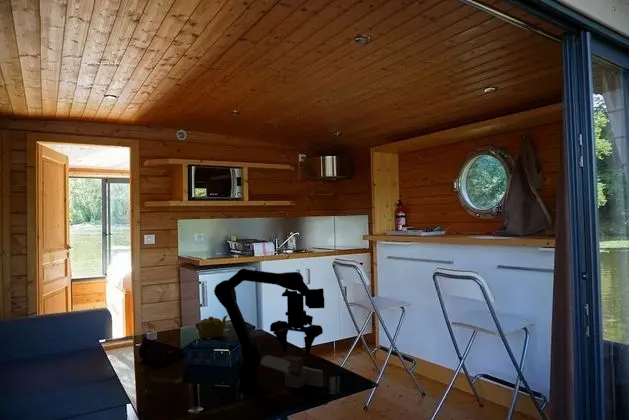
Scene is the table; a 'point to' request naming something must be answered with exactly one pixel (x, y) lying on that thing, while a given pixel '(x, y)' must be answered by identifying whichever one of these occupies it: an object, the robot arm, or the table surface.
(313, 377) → the board
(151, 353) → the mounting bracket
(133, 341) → the table surface
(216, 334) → the teapot
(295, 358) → the rail post
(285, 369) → the baseboard molding
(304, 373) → the square open holder
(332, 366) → the table surface
